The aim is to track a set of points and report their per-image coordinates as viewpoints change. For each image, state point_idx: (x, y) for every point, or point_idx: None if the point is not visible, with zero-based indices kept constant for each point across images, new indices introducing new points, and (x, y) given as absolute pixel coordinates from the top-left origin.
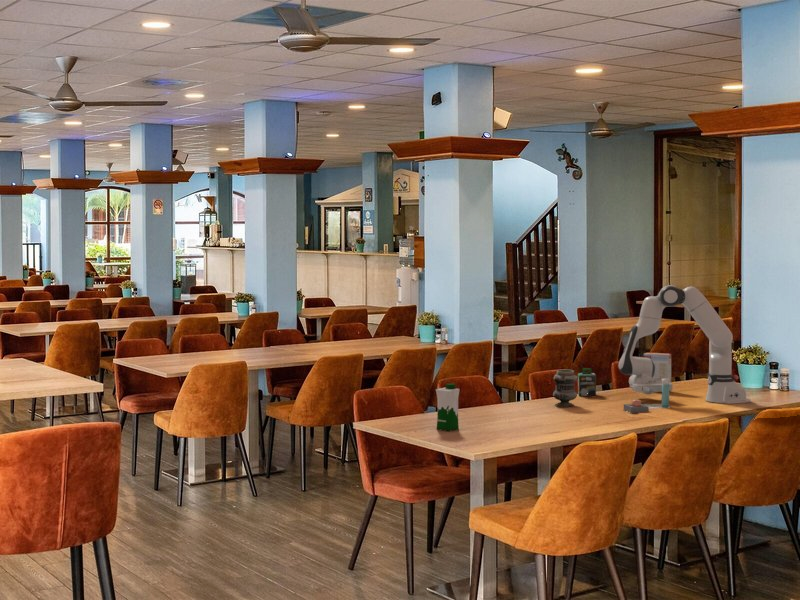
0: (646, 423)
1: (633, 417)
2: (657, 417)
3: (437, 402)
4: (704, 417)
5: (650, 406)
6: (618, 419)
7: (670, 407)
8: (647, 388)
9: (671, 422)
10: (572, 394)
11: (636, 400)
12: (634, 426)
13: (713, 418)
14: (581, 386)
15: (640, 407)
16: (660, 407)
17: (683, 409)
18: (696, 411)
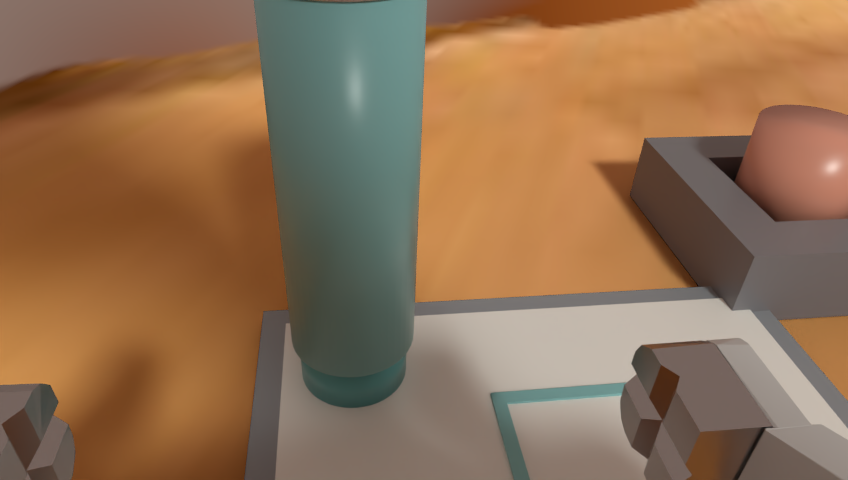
0: (652, 32)
1: (750, 108)
2: (569, 97)
3: None
4: (226, 76)
5: (584, 440)
6: (841, 85)
7: (287, 341)
8: (778, 416)
9: (508, 33)
10: None
11: (816, 125)
12: (711, 12)
13: (188, 59)
14: None
15: (730, 140)
16: (438, 353)
17: (140, 303)
18: (88, 210)
